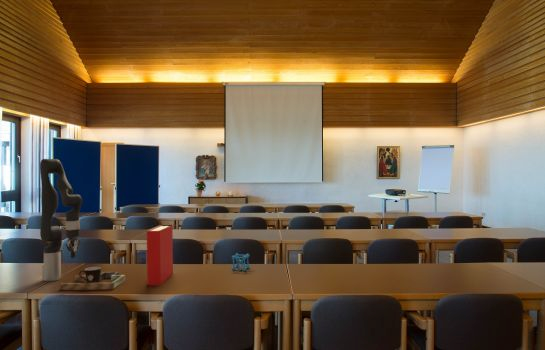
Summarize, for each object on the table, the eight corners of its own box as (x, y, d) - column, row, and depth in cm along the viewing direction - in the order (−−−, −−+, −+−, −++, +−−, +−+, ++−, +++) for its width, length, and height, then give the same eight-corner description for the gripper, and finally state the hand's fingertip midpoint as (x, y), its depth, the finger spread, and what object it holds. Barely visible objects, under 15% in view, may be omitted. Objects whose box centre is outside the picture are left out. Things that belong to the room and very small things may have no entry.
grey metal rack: (60, 289, 233) (60, 283, 233) (82, 277, 260) (82, 272, 260) (113, 289, 233) (113, 283, 233) (129, 277, 260) (129, 271, 260)
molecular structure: (231, 270, 274) (231, 255, 274) (236, 267, 284) (236, 253, 284) (245, 271, 272) (245, 256, 272) (250, 268, 282) (249, 253, 282)
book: (160, 273, 268) (160, 224, 268) (172, 273, 268) (172, 224, 267) (146, 285, 241) (145, 230, 240) (159, 285, 240) (159, 230, 240)
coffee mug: (104, 284, 244) (104, 267, 243) (92, 288, 236) (92, 270, 236) (90, 282, 248) (90, 265, 248) (78, 286, 241) (78, 269, 241)
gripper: (71, 227, 249) (72, 255, 249) (60, 230, 235) (61, 260, 235) (84, 226, 249) (84, 255, 249) (73, 229, 235) (74, 260, 235)
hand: (73, 257), depth 242 cm, fingers closed
